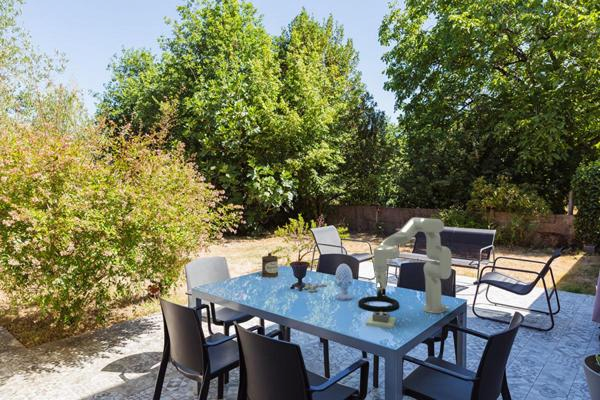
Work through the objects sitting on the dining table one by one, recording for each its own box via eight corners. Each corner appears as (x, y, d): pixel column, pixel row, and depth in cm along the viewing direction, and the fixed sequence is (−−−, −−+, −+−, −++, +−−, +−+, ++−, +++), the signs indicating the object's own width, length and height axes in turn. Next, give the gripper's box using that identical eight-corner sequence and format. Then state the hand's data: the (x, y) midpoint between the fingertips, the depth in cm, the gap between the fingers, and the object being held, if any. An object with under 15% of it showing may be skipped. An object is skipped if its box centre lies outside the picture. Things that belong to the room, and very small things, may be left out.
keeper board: (395, 320, 225) (395, 309, 225) (392, 328, 212) (392, 316, 212) (371, 317, 230) (370, 307, 230) (366, 325, 217) (365, 314, 217)
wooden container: (267, 278, 343) (266, 254, 342) (259, 275, 355) (259, 252, 355) (280, 276, 351) (280, 252, 350) (273, 273, 363) (272, 251, 363)
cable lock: (351, 303, 249) (367, 292, 275) (351, 309, 249) (367, 297, 275) (392, 309, 235) (405, 297, 261) (392, 315, 235) (405, 302, 261)
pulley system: (298, 292, 295) (315, 293, 289) (297, 286, 295) (315, 287, 289) (312, 286, 320) (328, 286, 313) (312, 280, 320) (328, 281, 314)
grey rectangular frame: (389, 319, 222) (389, 313, 222) (388, 322, 217) (388, 316, 217) (374, 317, 226) (374, 311, 226) (372, 320, 220) (372, 314, 220)
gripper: (384, 271, 211) (385, 301, 212) (389, 265, 227) (390, 293, 228) (371, 271, 214) (372, 300, 214) (377, 265, 230) (377, 292, 230)
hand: (381, 297), depth 221 cm, fingers open, 9 cm apart
